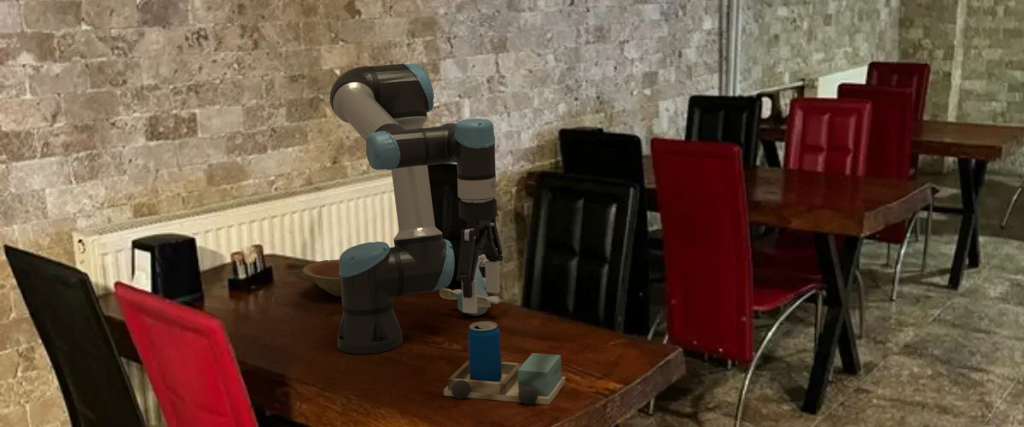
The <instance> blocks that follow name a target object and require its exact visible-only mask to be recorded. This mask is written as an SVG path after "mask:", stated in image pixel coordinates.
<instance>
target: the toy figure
mask: <svg viewBox="0 0 1024 427" xmlns="http://www.w3.org/2000/svg"><path fill="white" fill-rule="evenodd" d="M486 261H489V260H487V258H486V256H485V254H483V253H482V254H480V255H479V257H478V262H477V266H476V271H475V276H474V280H476V292H477V313H466V314H467V315H469V316H475V317H476V316H478V317H479V316H481V315H483V314H485V313H486V312H487V311H488V310H489V308H491V304H492V305H498V304H500V303H501V302H502V299H500V297H499V296H492V295H491V296H489V295H488V292H486V277H483V275H482V272H481V270H480V268H485V262H486ZM439 296H440V298H442V299H445V300H449V301H452V300H453V301H455V300H456V301H457V309H458V310H459V312H461V313H463V301H462V289H460V288H458V289H453V290H452V289H451V288H444V289H440V290H439Z"/></svg>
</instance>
